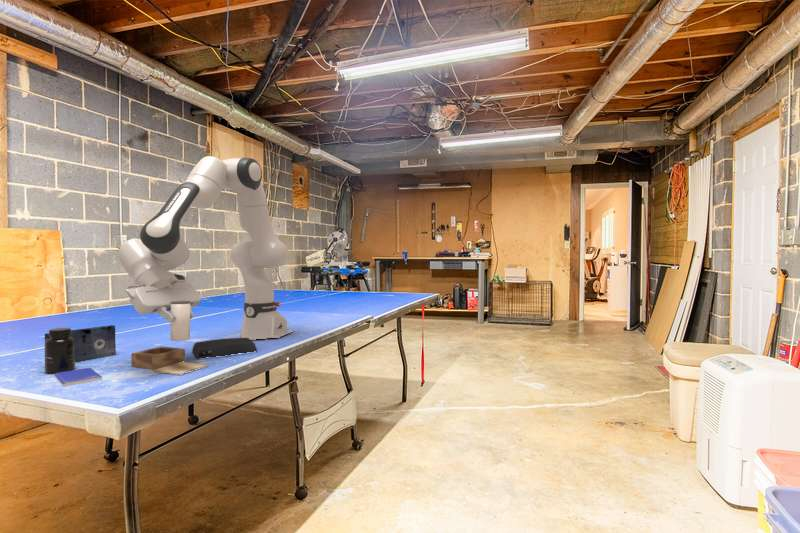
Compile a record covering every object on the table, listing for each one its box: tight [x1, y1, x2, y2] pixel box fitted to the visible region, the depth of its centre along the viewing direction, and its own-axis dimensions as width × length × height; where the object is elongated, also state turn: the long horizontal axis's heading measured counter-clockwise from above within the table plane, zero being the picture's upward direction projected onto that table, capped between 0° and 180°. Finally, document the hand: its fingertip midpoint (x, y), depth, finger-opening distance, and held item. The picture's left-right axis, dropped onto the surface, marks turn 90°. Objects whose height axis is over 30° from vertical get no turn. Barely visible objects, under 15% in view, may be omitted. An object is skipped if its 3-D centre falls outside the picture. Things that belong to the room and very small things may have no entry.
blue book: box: [54, 367, 103, 387], centre depth 113 cm, size 2×8×12 cm
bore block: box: [131, 345, 186, 370], centre depth 127 cm, size 10×10×4 cm
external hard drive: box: [191, 337, 258, 359], centre depth 143 cm, size 13×19×4 cm
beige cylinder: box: [169, 301, 191, 342], centre depth 121 cm, size 5×5×11 cm
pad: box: [152, 361, 209, 375], centre depth 122 cm, size 10×10×1 cm
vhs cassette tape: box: [44, 324, 117, 364], centre depth 131 cm, size 18×3×10 cm, turn 149°
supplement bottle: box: [44, 327, 76, 375], centre depth 119 cm, size 7×7×12 cm
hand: (182, 319), depth 121 cm, fingers closed on beige cylinder, 5 cm apart
